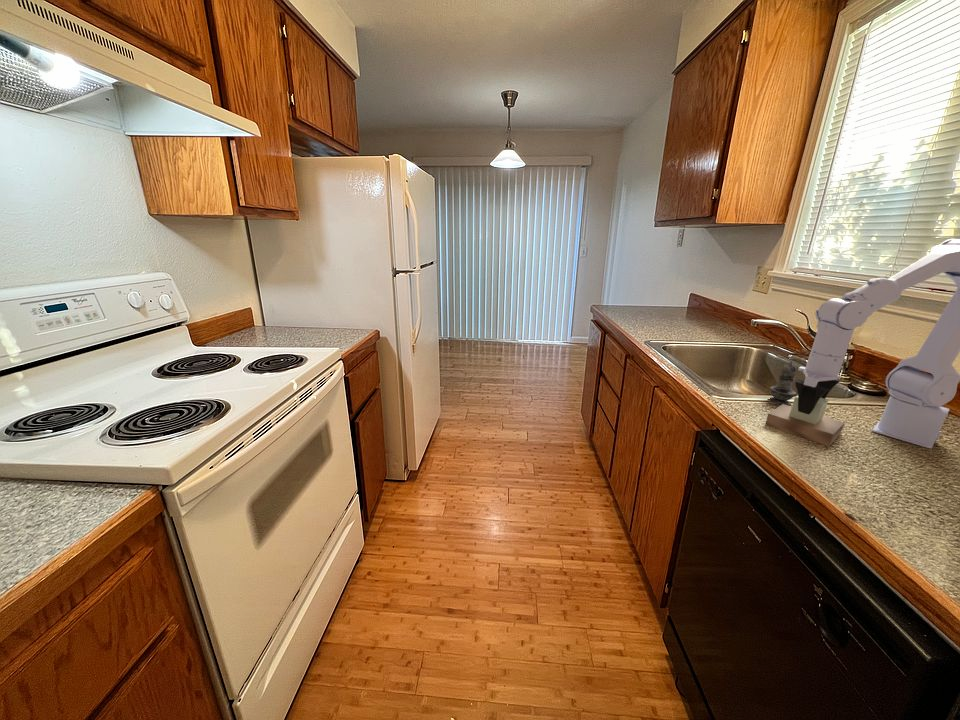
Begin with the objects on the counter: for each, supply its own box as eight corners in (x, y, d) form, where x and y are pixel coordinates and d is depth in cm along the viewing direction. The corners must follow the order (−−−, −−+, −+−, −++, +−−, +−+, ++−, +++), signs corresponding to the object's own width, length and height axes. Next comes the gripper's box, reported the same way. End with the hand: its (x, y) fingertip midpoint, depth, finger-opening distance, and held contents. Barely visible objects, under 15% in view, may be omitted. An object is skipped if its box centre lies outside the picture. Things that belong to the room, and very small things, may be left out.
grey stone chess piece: (783, 398, 108) (795, 358, 105) (797, 407, 103) (811, 365, 99) (761, 397, 109) (773, 357, 105) (774, 405, 103) (787, 364, 100)
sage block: (821, 419, 89) (828, 399, 88) (815, 424, 86) (822, 404, 85) (795, 411, 93) (801, 392, 91) (789, 416, 90) (795, 396, 89)
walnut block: (840, 434, 89) (844, 422, 88) (828, 446, 83) (833, 434, 82) (779, 414, 98) (782, 404, 97) (765, 424, 92) (768, 413, 91)
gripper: (814, 344, 92) (798, 396, 96) (794, 353, 83) (777, 409, 88) (853, 352, 86) (834, 406, 91) (836, 362, 78) (816, 421, 82)
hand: (809, 408), depth 89 cm, fingers open, 7 cm apart
